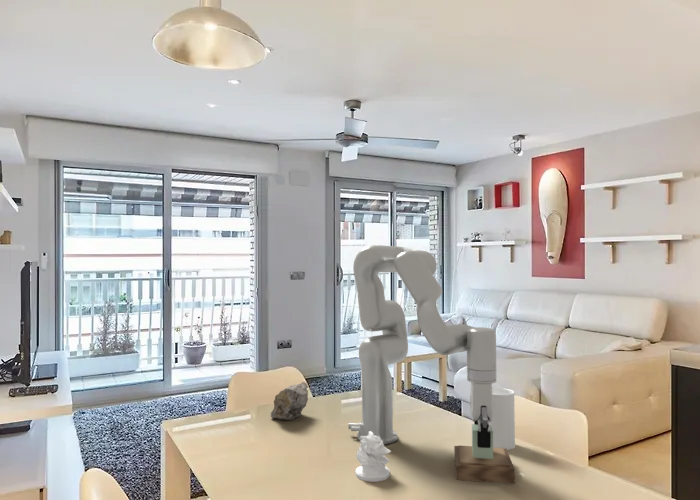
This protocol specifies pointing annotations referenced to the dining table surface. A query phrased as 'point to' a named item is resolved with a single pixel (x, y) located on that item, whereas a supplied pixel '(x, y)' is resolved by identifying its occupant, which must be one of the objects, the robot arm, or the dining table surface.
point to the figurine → (372, 459)
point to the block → (481, 452)
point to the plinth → (483, 466)
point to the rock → (290, 402)
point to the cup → (503, 418)
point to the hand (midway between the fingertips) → (482, 440)
